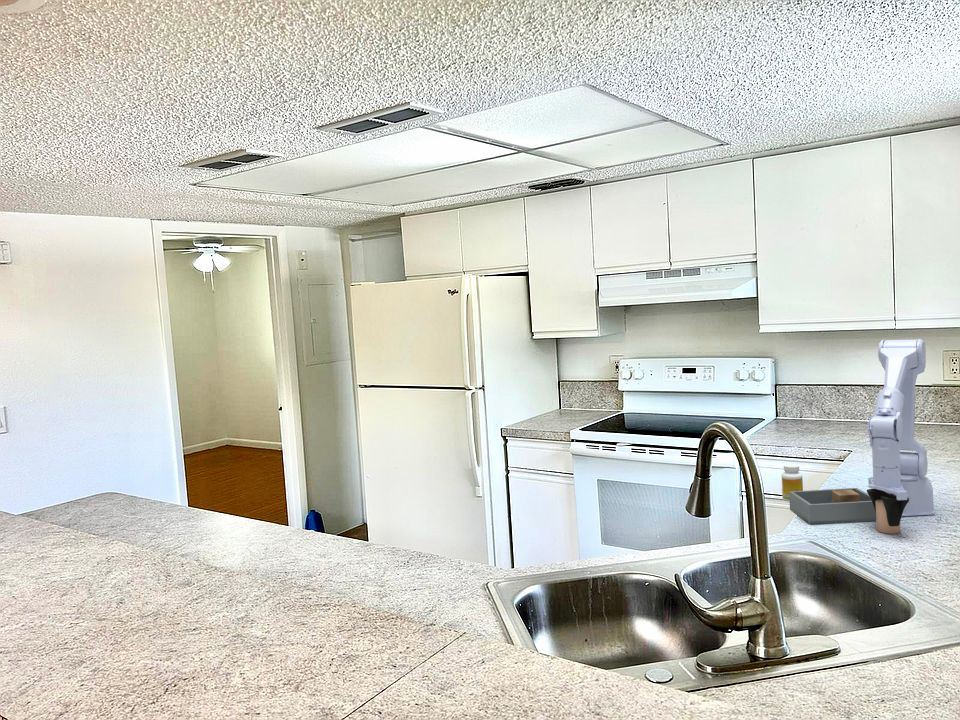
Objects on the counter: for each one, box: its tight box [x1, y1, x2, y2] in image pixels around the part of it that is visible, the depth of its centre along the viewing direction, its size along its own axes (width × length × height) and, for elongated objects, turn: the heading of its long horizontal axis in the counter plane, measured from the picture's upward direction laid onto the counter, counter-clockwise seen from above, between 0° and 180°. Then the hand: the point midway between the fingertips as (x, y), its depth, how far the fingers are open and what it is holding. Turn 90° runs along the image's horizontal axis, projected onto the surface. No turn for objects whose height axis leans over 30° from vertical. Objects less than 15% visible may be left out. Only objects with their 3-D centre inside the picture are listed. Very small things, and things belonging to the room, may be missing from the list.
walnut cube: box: [831, 490, 860, 503], centre depth 193 cm, size 5×5×5 cm
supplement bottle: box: [781, 463, 804, 503], centre depth 210 cm, size 5×5×10 cm
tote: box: [789, 487, 876, 526], centre depth 193 cm, size 18×14×5 cm
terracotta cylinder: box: [875, 499, 901, 535], centre depth 179 cm, size 5×5×7 cm
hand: (888, 522), depth 179 cm, fingers closed on terracotta cylinder, 5 cm apart
